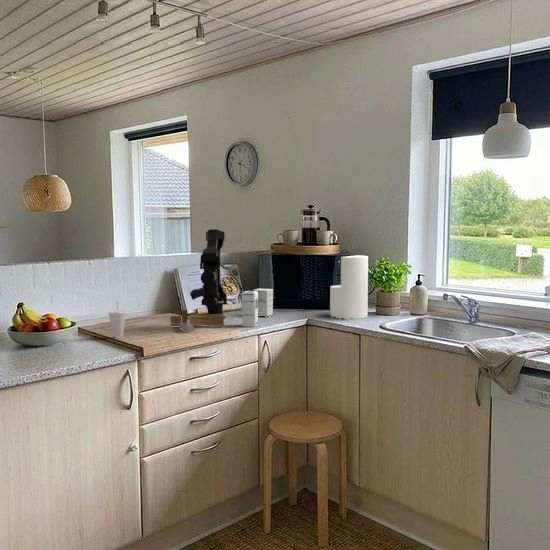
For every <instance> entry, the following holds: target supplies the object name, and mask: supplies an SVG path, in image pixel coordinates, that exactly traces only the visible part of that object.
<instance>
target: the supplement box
mask: <svg viewBox="0 0 550 550" xmlns="http://www.w3.org/2000/svg"><path fill="white" fill-rule="evenodd" d="M252 291H258V316H265V317H264V318H268V317H267V316H269V315H272V314H273V313H274V310H273V308H274V306H273V305H274V289H273V288H256V289H253V290H252ZM272 316H273V315H272ZM269 317H270V316H269Z"/></svg>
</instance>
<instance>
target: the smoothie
mask: <svg viewBox="0 0 550 550" xmlns="http://www.w3.org/2000/svg"><path fill="white" fill-rule="evenodd" d="M126 315H127V311H124V310H119V300H116V310H113V311H112V310H111V311H109V312H108V316H109V321H110V327H111V333H112V335H111V336H112V338H113V337H121V336H123V337H124V333H125V332H124V331H125V324H126V323H125V322H126Z"/></svg>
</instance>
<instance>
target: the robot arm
mask: <svg viewBox="0 0 550 550" xmlns="http://www.w3.org/2000/svg"><path fill="white" fill-rule="evenodd" d="M205 241H206V242H207V244H206V247H205V248H204V249H203V250H202V254H201V255H200V262H199V263H200V264H199V270H203V272H202V273H201V275H200V281H201V283H202V284H203V285H202V287H200V288H195V289H192V290H191V291H190V292H189V295H190V297H191V299H192V301H193V300H196V299H198V298H200V297H202V298H201V300H200V301H201V306H205V307H206V309H207V314H224V311H223V310H224V308H223V305H224V306H225V305H228V297H227V296H228V295H227V293H226V291H225V287H224V286H223V284H222V282H221V266H222V265H221V264H222V258H221V257H222V256H221V250H222V249H223V247H224V245H225V241H226V233H225V231H222V230H220V229H216V228H214V229H212V228H209V229H207V230H206V231H205ZM224 318H226V316H225V315H224Z"/></svg>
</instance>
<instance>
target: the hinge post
mask: <svg viewBox="0 0 550 550" xmlns="http://www.w3.org/2000/svg"><path fill="white" fill-rule="evenodd" d="M181 313H182V314H181V315H180V314H179V315H170V327H171V326H179V323H181V322H187V323H189V321H188V309H182V310H181Z"/></svg>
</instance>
